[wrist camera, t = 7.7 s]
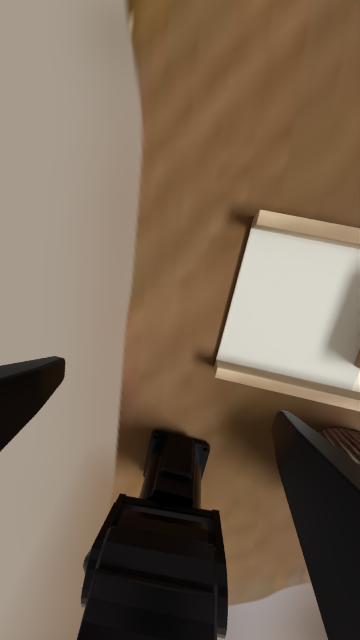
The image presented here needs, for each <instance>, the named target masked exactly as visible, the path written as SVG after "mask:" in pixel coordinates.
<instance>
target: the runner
mask: <svg viewBox="0 0 360 640" xmlns="http://www.w3.org/2000/svg"><path fill="white" fill-rule="evenodd" d="M359 350H360V249H356V248H351V247H346V246H341V245H335V244H330V243H325V242H320V241H315V240H310V239H305V238H299V237H294V236H289V235H284V234H279V233H274V232H269V231H263V230H258V229H253V228H251V230H250V233H249V237H248V241H247V245H246V248H245V252H244V256H243V260H242V264H241V267H240V271H239V275H238V279H237V282H236V286H235V290H234V294H233V297H232V301H231V305H230V309H229V313H228V316H227V320H226V324H225V328H224V331H223V335H222V339H221V343H220V346H219V350H218V354H217V358H216V359H217V360H221V361H225V362H229V363H234V364H238V365H243V366H247V367H251V368H256V369H260V370H264V371H269V372H273V373H277V374H282V375H286V376H290V377H295V378H299V379H303V380H308V381H312V382H317V383H321V384H325V385H330V386H334V387H338V388H343V389H347V390H351V391H356V392H360V369H359V368H357V367H356V366H354V362H355V360H356V357H357V355H358V353H359Z"/></svg>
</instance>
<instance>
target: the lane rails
mask: <svg viewBox="0 0 360 640" xmlns="http://www.w3.org/2000/svg"><path fill="white" fill-rule="evenodd" d="M251 228H253V229H258V230H263V231H269V232H274V233H279V234H284V235H289V236H294V237H299V238H305V239H310V240H315V241H320V242H325V243H330V244H335V245H341V246H346V247H351V248H356V249H360V228H354V227H349V226H344V225H339V224H333V223H328V222H323V221H317V220H312V219H307V218H302V217H296V216H291V215H286V214H280V213H275V212H270V211H265V210H260V211H259V212H258V213H257V214H256V215H255V216H254V218H253V222H252V226H251ZM214 373H215V378H220V379H224V380H228V381H233V382H237V383H241V384H245V385H250V386H254V387H258V388H262V389H267V390H271V391H275V392H279V393H284V394H288V395H292V396H297V397H301V398H305V399H309V400H314V401H318V402H322V403H326V404H331V405H335V406H339V407H343V408H348V409H352V410H356V411H360V392H356V391H351V390H347V389H343V388H338V387H334V386H330V385H325V384H321V383H317V382H312V381H308V380H303V379H299V378H295V377H290V376H286V375H282V374H277V373H273V372H269V371H264V370H260V369H256V368H251V367H247V366H243V365H238V364H234V363H229V362H225V361H221V360H217V359H216V362H215V365H214Z"/></svg>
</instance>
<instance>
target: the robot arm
mask: <svg viewBox="0 0 360 640" xmlns="http://www.w3.org/2000/svg"><path fill="white" fill-rule="evenodd" d="M64 375H65V359H64V358H61V357H57V356H53V357H47V358H41V359H36V360H30V361H25V362H19V363H13V364H8V365H2V366H0V451H1V450H2V449H3V448H4V447H5V446H6V445H7V444H8V443H9V442H10V441H11V440H12V439H13V438H14V436H16V435H17V434H18V433H19V431H20V430H21V429H22V428H23V427H24V426H25V425H26V424H27V423H28V422H29V421H30V420H31V419H32V418H33V417H34V416H35V415H36V414H37V412H38V411H39V410H40V409H41V408H42V407H43V405H44V404H45V403H46V402H47V400H48V399H49V398H50V396H51V395H52V394H53V393H54V391H55V390H56V389H57V387H58V386H59V385H60V384H61V383H62V381H63V379H64ZM155 435H157V436H155ZM272 438H273V443H274V448H275V453H276V459H277V464H278V469H279V473H280V477H281V481H282V484H283V487H284V491H285V494H286V498H287V501H288V504H289V508H290V511H291V515H292V518H293V521H294V525H295V528H296V532H297V535H298V538H299V542H300V545H301V549H302V552H303V556H304V559H305V562H306V566H307V569H308V573H309V576H310V579H311V583H312V586H313V590H314V593H315V596H316V600H317V603H318V607H319V610H320V613H321V617H322V620H323V624H324V627H325V630H326V634H327V637H328V640H360V465H359V464H358V463H356V462H355V461H354V460H352V459H351V458H350V457H348V456H347V455H346V454H344V453H343V452H342V451H340V450H339V449H338V448H337V447H335V446H334V445H333V444H331V443H330V442H329V441H327V440H326V439H325V438H323V437H322V436H321V435H319V434H318V433H317V432H316V431H314V430H313V429H312V428H310V427H309V426H308V425H306V424H305V423H304V422H302V421H301V420H300V419H299V418H297V417H296V416H295V415H293V414H292V413H291V412H288V411H283V410H279V411H278V412H277V415H276V417H275V420H274V423H273V425H272ZM204 447H206V448H204ZM209 452H210V445H209V444H208V443H205V442H201V441H197V440H193V439H189V438H186V437H182V436H178V435H174V434H170V433H166V432H162V431H158V430H154V431H153V432H152V434H151V439H150V444H149V449H148V454H147V459H146V464H145V469H144V474H143V476H144V477H145V478H144V482H143V485H142V489H141V493H140V496H139V498H135V497H130V496H126V494H120V495H119V497H118V499H117V500H116V502H115V503H114V504H113V506H112V508H111V510H110V512H109V514H108V516H107V518H106V520H105V522H104V524H103V526H102V528H101V530H100V532H99V534H98V536H97V538H96V539H95V542H94V544H93V546H92V548H91V550H90V551H89V552H88V554H87V556H86V557H85V560H84V564H83V569H84V572H85V579H84V584H83V588H82V595H81V605H82V607H85V610H84V614H83V618H82V622H81V626H80V630H79V633H78V637H77V640H217V637H220V638H225V636H226V631H227V616H228V587H227V569H226V559H225V551H224V544H223V537H222V529H221V522H220V515H219V510H213V509H212V511H211V510H205V509H201V479H202V476H203V472H204V469H205V466H206V462H207V459H208V455H209Z"/></svg>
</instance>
